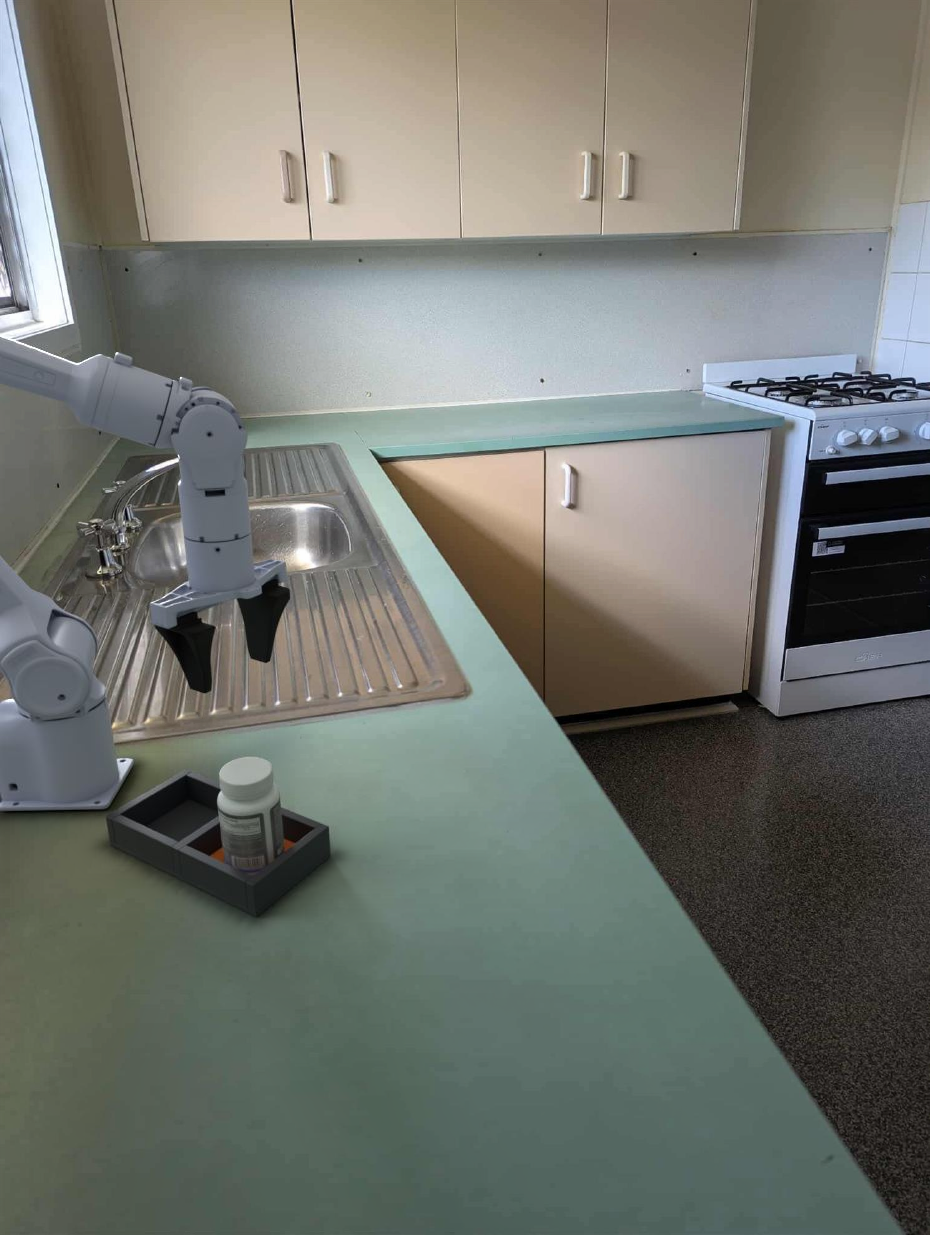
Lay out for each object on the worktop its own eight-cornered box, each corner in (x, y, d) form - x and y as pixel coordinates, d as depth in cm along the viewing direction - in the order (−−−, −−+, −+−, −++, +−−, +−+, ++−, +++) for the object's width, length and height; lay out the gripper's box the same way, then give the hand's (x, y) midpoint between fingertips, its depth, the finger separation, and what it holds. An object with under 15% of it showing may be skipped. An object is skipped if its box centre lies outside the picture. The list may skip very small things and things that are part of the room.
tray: (110, 845, 72) (105, 815, 71) (190, 796, 79) (186, 768, 78) (256, 917, 65) (253, 885, 63) (330, 856, 71) (329, 826, 70)
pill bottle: (260, 835, 73) (251, 747, 70) (297, 857, 70) (290, 767, 67) (211, 862, 69) (201, 771, 66) (249, 887, 67) (239, 793, 64)
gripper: (185, 562, 69) (202, 716, 74) (307, 521, 80) (315, 656, 85) (125, 548, 72) (146, 696, 77) (251, 510, 84) (262, 641, 89)
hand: (231, 674), depth 81 cm, fingers open, 7 cm apart
